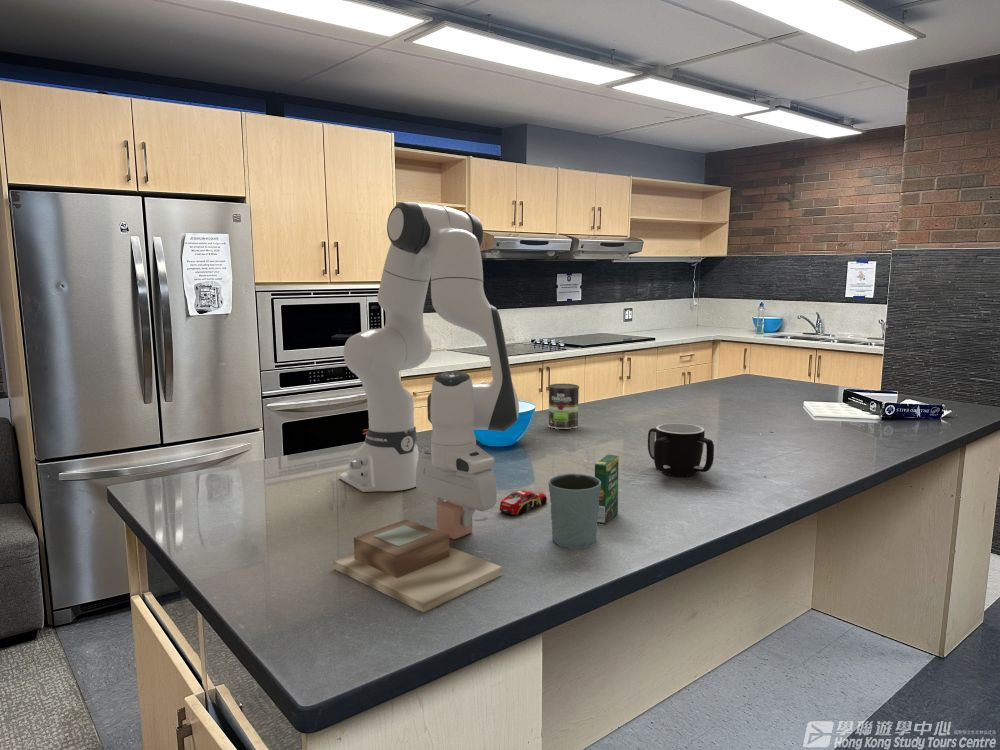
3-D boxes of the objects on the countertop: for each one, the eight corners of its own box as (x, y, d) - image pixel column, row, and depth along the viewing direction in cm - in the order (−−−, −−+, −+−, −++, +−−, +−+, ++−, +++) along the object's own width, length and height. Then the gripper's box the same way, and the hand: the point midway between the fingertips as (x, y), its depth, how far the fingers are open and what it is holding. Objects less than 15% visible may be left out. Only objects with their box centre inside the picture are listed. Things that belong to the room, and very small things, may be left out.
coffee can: (575, 430, 228) (576, 388, 226) (545, 429, 231) (545, 387, 229) (581, 424, 238) (581, 384, 236) (552, 422, 241) (552, 382, 239)
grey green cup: (595, 530, 140) (596, 473, 138) (604, 550, 130) (605, 488, 128) (545, 531, 140) (546, 473, 138) (551, 551, 130) (551, 489, 128)
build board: (334, 568, 122) (332, 538, 122) (412, 539, 136) (411, 512, 135) (423, 612, 106) (422, 577, 106) (502, 574, 119) (501, 543, 119)
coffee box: (606, 526, 142) (606, 464, 140) (592, 523, 143) (593, 462, 141) (618, 514, 149) (619, 455, 147) (606, 512, 150) (607, 453, 148)
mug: (713, 483, 170) (715, 436, 168) (647, 480, 173) (648, 433, 171) (707, 465, 186) (709, 422, 184) (647, 462, 189) (648, 420, 187)
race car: (532, 498, 161) (532, 482, 160) (551, 503, 157) (551, 486, 157) (495, 513, 151) (495, 495, 150) (514, 518, 147) (514, 500, 147)
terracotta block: (437, 533, 139) (436, 504, 138) (455, 526, 142) (454, 498, 141) (454, 539, 135) (453, 510, 134) (472, 532, 139) (471, 503, 138)
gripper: (407, 448, 141) (409, 513, 143) (478, 467, 127) (479, 538, 129) (430, 443, 146) (431, 505, 148) (501, 460, 132) (502, 529, 134)
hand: (454, 521), depth 138 cm, fingers closed on terracotta block, 5 cm apart
